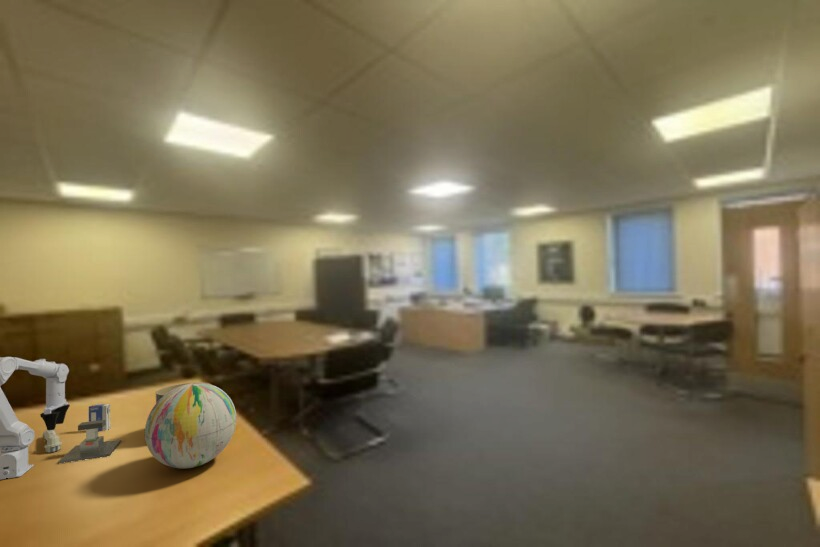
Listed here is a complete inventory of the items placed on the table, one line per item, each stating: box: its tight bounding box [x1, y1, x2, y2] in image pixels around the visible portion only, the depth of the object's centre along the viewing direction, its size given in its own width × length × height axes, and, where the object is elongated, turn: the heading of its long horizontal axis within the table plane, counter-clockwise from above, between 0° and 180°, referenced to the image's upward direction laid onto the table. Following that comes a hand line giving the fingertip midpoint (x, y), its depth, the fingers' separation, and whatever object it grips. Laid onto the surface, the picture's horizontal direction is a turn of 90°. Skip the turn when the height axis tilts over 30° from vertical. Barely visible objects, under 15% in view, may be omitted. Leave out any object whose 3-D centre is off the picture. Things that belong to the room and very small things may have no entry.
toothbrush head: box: [42, 429, 63, 453], centre depth 170 cm, size 5×7×25 cm
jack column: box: [77, 420, 106, 442], centre depth 161 cm, size 4×8×8 cm, turn 112°
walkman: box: [88, 403, 111, 432], centre depth 186 cm, size 8×3×12 cm, turn 98°
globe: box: [144, 382, 237, 469], centre depth 148 cm, size 30×30×30 cm
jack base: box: [58, 435, 123, 465], centre depth 161 cm, size 16×16×5 cm
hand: (55, 426), depth 161 cm, fingers open, 7 cm apart
